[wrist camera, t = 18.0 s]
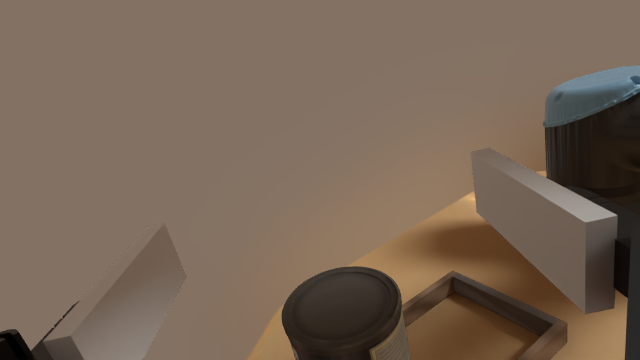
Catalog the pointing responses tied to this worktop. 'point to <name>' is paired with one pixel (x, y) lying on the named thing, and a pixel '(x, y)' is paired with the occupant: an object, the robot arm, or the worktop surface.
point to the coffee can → (346, 317)
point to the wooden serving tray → (512, 309)
